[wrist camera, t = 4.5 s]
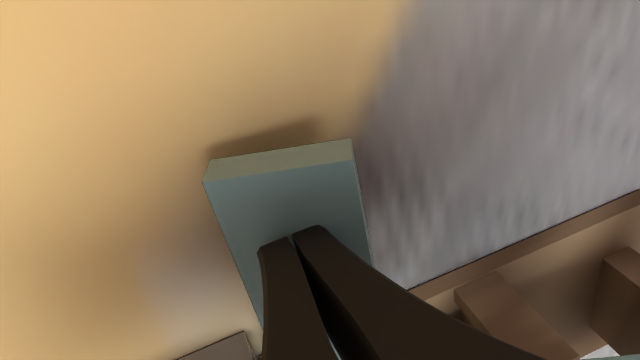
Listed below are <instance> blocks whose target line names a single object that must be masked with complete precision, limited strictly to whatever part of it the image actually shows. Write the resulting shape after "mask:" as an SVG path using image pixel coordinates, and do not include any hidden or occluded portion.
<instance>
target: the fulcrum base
mask: <svg viewBox="0 0 640 360" xmlns="http://www.w3.org/2000/svg"><path fill="white" fill-rule="evenodd" d="M409 292H410V293H412V294H414V295H415V296H417V297H418V298H420V299H422V300H423V301H425V302H427V303H428V304H430V305H432V306H434V307H435V308H437V309H439V310H441V311H443V312H444V313H446V314H448V315H450V316H452V317H454V318H456V319H458V320H460V321H461V322H463V323H465V324H467V325H469V326H471V327H474V328H476V329H478V330H480V331H482V332H484V333H486V334H488V335H490V336H492V337H495V338H497V339H499V340H502V341H504V342H506V343H509V344H511V345H514V346H516V347H518V348H521V349H523V350H526V351H528V352H531V353H533V354H535V355H538V356H540V357H543V358H545V359H547V360H579V358H581V357H583V356H585V355H587V354H589V353H591V352H593V351H595V350H597V349H599V348H601V347H603V346H605V345H607V344H608V345H610V346H611V347H612V348H613V349H614V350H615V351H616V352H617V353H618V354H619V355H620V356H625V355H636V354H640V190H638V191H635V192H633V193H631V194H628V195H626V196H624V197H622V198H619V199H617V200H615V201H612V202H610V203H608V204H606V205H603V206H601V207H599V208H596V209H594V210H592V211H590V212H587V213H585V214H583V215H580V216H578V217H576V218H574V219H571V220H569V221H567V222H564V223H562V224H560V225H558V226H555V227H553V228H551V229H548V230H546V231H544V232H542V233H539V234H537V235H535V236H532V237H530V238H528V239H526V240H523V241H521V242H519V243H516V244H514V245H512V246H510V247H507V248H505V249H503V250H500V251H498V252H496V253H494V254H491V255H489V256H487V257H484V258H482V259H480V260H478V261H475V262H473V263H471V264H468V265H466V266H464V267H462V268H459V269H457V270H455V271H452V272H450V273H448V274H446V275H443V276H441V277H439V278H437V279H434V280H432V281H430V282H427V283H425V284H423V285H421V286H418V287H416V288H414V289H411V290H409ZM259 358H260V360H262V355H261V356H259Z"/></svg>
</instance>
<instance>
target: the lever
mask: <svg viewBox="0 0 640 360" xmlns="http://www.w3.org/2000/svg"><path fill="white" fill-rule="evenodd" d="M202 184H203V186H204V189H205V191H206V193H207V196H208V198H209V201H210V203H211V205H212V208H213V210H214V213H215V215H216V218H217V220H218V222H219V225H220V227H221V230H222V232H223V235H224V237H225V239H226V242H227V244H228V247H229V249H230V251H231V254H232V256H233V259H234V261H235V264H236V266H237V268H238V271H239V273H240V276H241V278H242V281H243V283H244V285H245V288H246V290H247V293H248V295H249V297H250V300H251V302H252V305H253V307H254V310H255V312H256V314H257V317H258V319H259V322H260V324H261V327H262V329H263V286H262V275H261V269H260V263H259V259H258V256H257V251H258V249H259V248H260V247H261V246H263V245H266V244H268V243H271V242H273V241H276V240H278V239H281V238H283V237H286V236H287V237H288V239H289V241H290V242H291V244H292V246H293V247H294V249H295V251H296V248H295V245H294V241H293V238H292V235H291V234H293V233H296V232H298V231H301V230H303V229H306V228H309V227H311V226H315V225H320V226H322V227H324V228H326V229H327V230H328V231H329V232H330V233H331V234H332V235H333V236H334V237H335V238H336V239H338V240H339V241H340V242H341V243H342V244H343V245H345V246H346V247H347V248H348V249H350V250H351V251H352V252H353V253H355V254H356V255H357V256H358V257H360V258H361V259H362V260H364V261H365V262H366V263H368V264H369V265H370V266H372V267H373V268H375V266H374V260H373V255H372V249H371V244H370V238H369V233H368V228H367V222H366V217H365V211H364V206H363V201H362V195H361V190H360V184H359V179H358V173H357V168H356V163H355V157H354V152H353V146H352V141H351V138H347V139H341V140H334V141H328V142H322V143H315V144H309V145H302V146H296V147H290V148H283V149H277V150H271V151H264V152H258V153H251V154H245V155H239V156H232V157H226V158H220V159H213V160H210V162H209V164H208V167H207V170H206V173H205V175H204V178H203V181H202ZM296 253H297V251H296ZM327 336H328V335H327ZM328 338H329V337H328ZM329 340H330V339H329ZM330 343H331V341H330ZM331 345H332V347H333V349H334V351H335V353H336V355H337V357H338V359H339V360H341V358H340V357H339V355H338V353H337V351H336V350H335V348H334V346H333V344H332V343H331ZM582 360H640V354H636V355H625V356H614V357H603V358H593V359H582Z"/></svg>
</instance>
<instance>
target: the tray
mask: <svg viewBox="0 0 640 360" xmlns="http://www.w3.org/2000/svg"><path fill="white" fill-rule="evenodd" d="M178 360H257V359H256V357H255V355H254V353H253V350H252V348H251V346H250V344H249V341H248V339H247V337H246V335H245V333H244V331H243V332H241V333H239V334H236V335H234V336H232V337H229V338H227V339H225V340H222V341H220V342H218V343H215V344H213V345H211V346H208V347H206V348H203V349H201V350H199V351H196V352H194V353H192V354H189V355H187V356H185V357H182V358H180V359H178Z"/></svg>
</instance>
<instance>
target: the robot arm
mask: <svg viewBox="0 0 640 360" xmlns="http://www.w3.org/2000/svg"><path fill="white" fill-rule="evenodd" d="M291 235H292V238H293V241H294V245H295V248H296V251H297V253H296V251H295V249H294V247H293V246H292V244H291V242H290V241H289V239H288V237H287V236H286V237H283V238H281V239H278V240H276V241H273V242H271V243H268V244H266V245H263V246H261V247H260V248H259V249H258V251H257V256H258V259H259V263H260V269H261V275H262V286H263V344H262V360H339V359H338V357H337V355H336V353H335V351H334V349H333V347H332V345H331V343H332V344H333V346H334V348H335V350H336V351H337V353H338V355H339V357H340V358H341V360H547V359H545V358H543V357H540V356H538V355H535V354H533V353H531V352H528V351H526V350H523V349H521V348H518V347H516V346H514V345H511V344H509V343H506V342H504V341H502V340H499V339H497V338H495V337H492V336H490V335H488V334H486V333H484V332H482V331H480V330H478V329H476V328H474V327H471V326H469V325H467V324H465V323H463V322H461V321H460V320H458V319H456V318H454V317H452V316H450V315H448V314H446V313H444V312H443V311H441V310H439V309H437V308H435V307H434V306H432V305H430V304H428V303H427V302H425V301H423V300H422V299H420V298H418V297H417V296H415V295H414V294H412V293H410V292H409V291H407V290H405V289H404V288H402V287H401V286H399V285H398V284H396V283H395V282H393V281H392V280H390V279H389V278H387V277H386V276H385V275H383V274H382V273H380V272H379V271H377V270H376V269H375V268H373V267H372V266H370V265H369V264H368V263H366V262H365V261H364V260H362V259H361V258H360V257H358V256H357V255H356V254H355V253H353V252H352V251H351V250H350V249H348V248H347V247H346V246H345V245H343V244H342V243H341V242H340V241H339V240H338V239H336V238H335V237H334V236H333V235H332V234H331V233H330V232H329V231H328V230H327V229H326V228H324V227H322V226H320V225H315V226H311V227H309V228H306V229H303V230H301V231H298V232H296V233H293V234H291ZM327 335H328V336H327ZM328 337H329V338H328ZM329 339H330V340H329ZM330 341H331V343H330Z"/></svg>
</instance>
